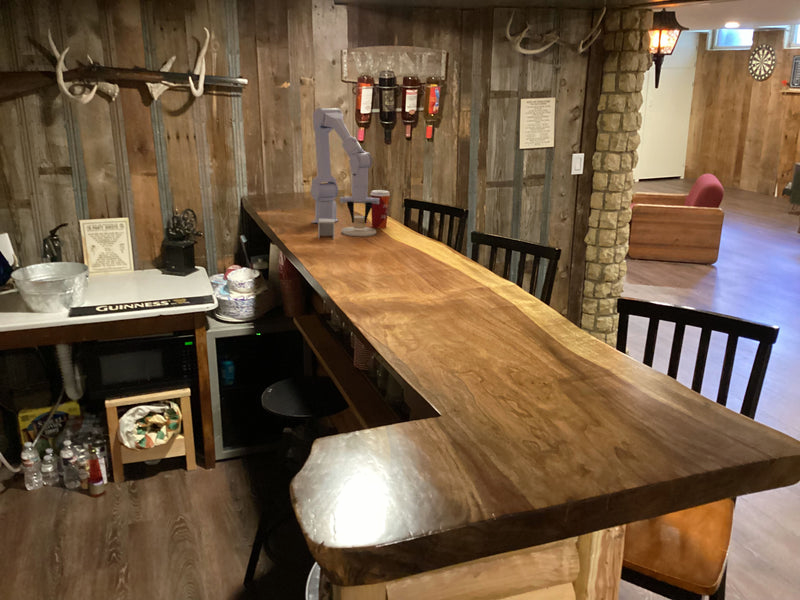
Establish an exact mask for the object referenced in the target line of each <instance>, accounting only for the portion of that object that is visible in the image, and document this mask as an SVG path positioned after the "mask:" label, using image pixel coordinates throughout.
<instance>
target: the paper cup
mask: <svg viewBox="0 0 800 600" xmlns="http://www.w3.org/2000/svg"><path fill="white" fill-rule="evenodd" d="M369 195H370V198H379V204H372V207H371V209H370V211H371V228H373V229H386V228H387V226H388V225H387V223H388V213H389V212H388V211H389V204H390V203H389V202H390V195H391V194H390V191H388V190H385V189H384V190H383V189H374V190H371V192H370V194H369Z"/></svg>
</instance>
